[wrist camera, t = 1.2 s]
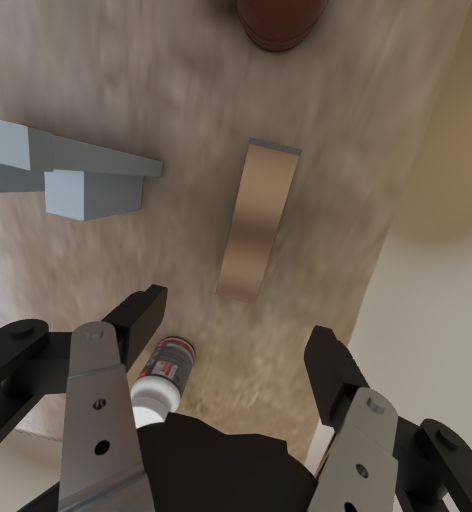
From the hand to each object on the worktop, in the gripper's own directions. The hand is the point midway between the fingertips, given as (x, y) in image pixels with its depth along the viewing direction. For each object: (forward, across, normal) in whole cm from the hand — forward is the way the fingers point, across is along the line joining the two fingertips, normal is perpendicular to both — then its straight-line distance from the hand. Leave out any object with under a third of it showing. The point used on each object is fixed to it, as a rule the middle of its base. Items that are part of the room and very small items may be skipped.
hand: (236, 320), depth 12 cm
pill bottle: (+15, +6, +18) cm, 24 cm away
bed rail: (+15, 0, -3) cm, 15 cm away
